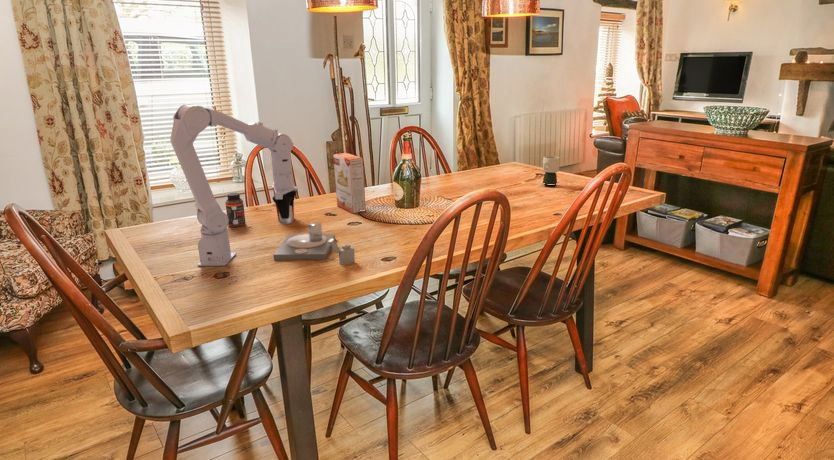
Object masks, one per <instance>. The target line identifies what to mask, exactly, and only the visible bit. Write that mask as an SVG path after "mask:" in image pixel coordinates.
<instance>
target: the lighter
mask: <svg viewBox="0 0 834 460" xmlns="http://www.w3.org/2000/svg"><path fill="white" fill-rule="evenodd" d="M328 242H329V244H330V245H331V249H332V250H333V252H334V253H335V254H338V260H339V265H341V266H346V265H349V263H350V264H353V262H354V263H356V261H355V260H356V258H355V256H356V255H355V248H354V246H351V245H350V244H344V245H342V248H340V247H339V245H338V244H337V242H336V239H335V240H334V239H330V240H329V241H328Z"/></svg>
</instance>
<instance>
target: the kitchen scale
mask: <svg viewBox="0 0 834 460" xmlns="http://www.w3.org/2000/svg"><path fill="white" fill-rule="evenodd" d="M330 239H334V240H335V241H336V234H322V241H319V242H310V241H309V233H304V234H288V235H287V236H286V238H285V239H283V241H282V243H281V244H280V245H279V246H278V248H277V249H276V251H275V252H274V253H273V254H272V257H273V261H282V260H283V261H287V260H288V261H289V260H294V261H295V260H301V261H302V260H327V257H328V256H329V255H328V254H329V252H330V251H331V249H332V247H331V245H330V244H329V242H328V241H329V240H330Z"/></svg>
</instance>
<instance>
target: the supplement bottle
mask: <svg viewBox="0 0 834 460" xmlns="http://www.w3.org/2000/svg"><path fill="white" fill-rule="evenodd" d="M240 196H241V195H240V192H230V193H227V199H226V200H225V210H226V212H225V213H226V215H227V216H228V219H229V223H228V226H229V227H232V228H238V227H243V226H244V225H246V213H245V207H244V201H243V199H242V198H241V197H240Z"/></svg>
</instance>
